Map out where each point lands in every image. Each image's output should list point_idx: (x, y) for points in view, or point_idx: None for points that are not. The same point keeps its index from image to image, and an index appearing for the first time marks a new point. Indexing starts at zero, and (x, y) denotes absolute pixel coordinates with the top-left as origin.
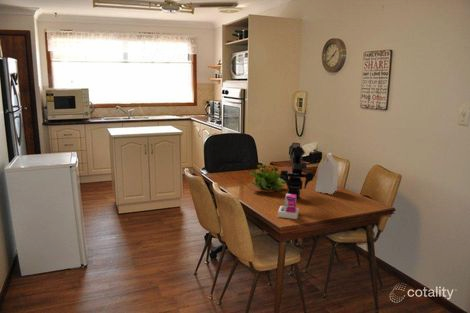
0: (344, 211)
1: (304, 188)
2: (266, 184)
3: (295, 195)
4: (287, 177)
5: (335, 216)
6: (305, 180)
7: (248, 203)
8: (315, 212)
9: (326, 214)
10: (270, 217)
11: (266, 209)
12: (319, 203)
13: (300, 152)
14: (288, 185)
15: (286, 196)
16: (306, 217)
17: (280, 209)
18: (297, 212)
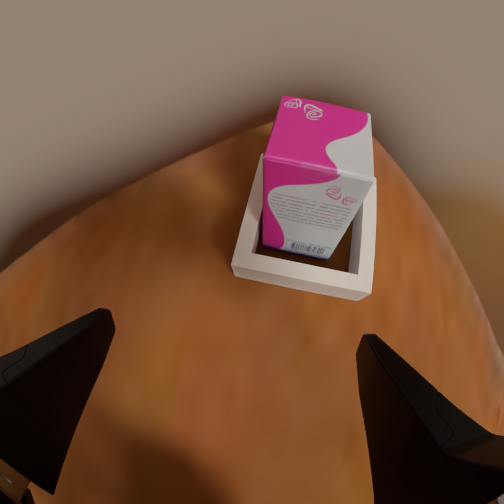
0: (5, 315)
1: (111, 334)
2: None
3: (278, 134)
4: (477, 450)
5: (56, 241)
6: (24, 418)
7: (498, 382)
8: (123, 294)
9: (80, 265)
10: (396, 187)
11: (430, 308)
12: (75, 453)
13: None
14: (381, 349)
15: (360, 111)
16: (201, 203)
17: (366, 212)
18: (258, 171)
